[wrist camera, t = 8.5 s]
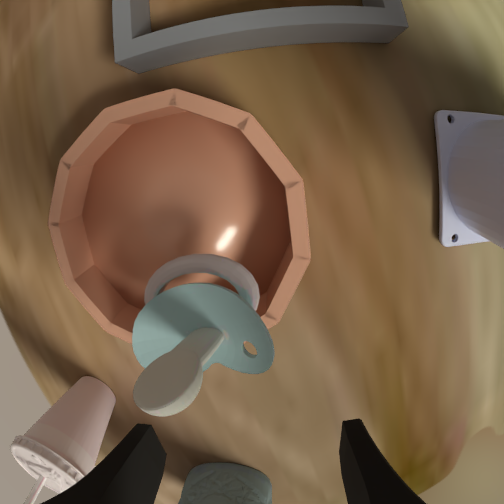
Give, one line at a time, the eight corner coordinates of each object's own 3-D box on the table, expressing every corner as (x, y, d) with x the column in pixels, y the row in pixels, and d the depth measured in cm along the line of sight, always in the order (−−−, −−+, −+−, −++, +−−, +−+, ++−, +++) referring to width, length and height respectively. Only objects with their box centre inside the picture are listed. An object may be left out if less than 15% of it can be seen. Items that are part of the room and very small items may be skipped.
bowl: (284, 82, 15) (287, 69, 12) (311, 319, 19) (316, 347, 16) (62, 135, 16) (32, 136, 13) (111, 331, 20) (92, 355, 18)
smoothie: (55, 378, 23) (-24, 487, 10) (86, 351, 21) (-12, 485, 8) (106, 425, 24) (49, 541, 11) (144, 405, 23) (83, 550, 9)
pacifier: (134, 270, 17) (173, 367, 17) (45, 309, 11) (106, 431, 11) (256, 232, 14) (295, 353, 15) (181, 271, 8) (253, 446, 9)
